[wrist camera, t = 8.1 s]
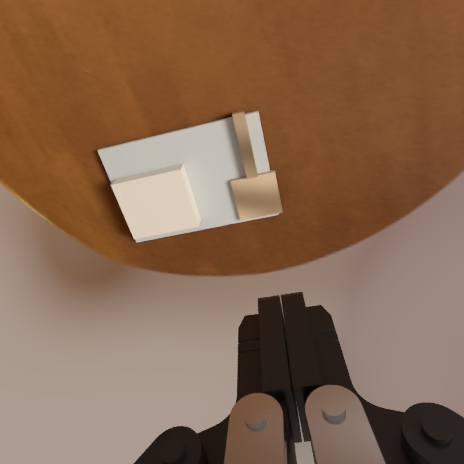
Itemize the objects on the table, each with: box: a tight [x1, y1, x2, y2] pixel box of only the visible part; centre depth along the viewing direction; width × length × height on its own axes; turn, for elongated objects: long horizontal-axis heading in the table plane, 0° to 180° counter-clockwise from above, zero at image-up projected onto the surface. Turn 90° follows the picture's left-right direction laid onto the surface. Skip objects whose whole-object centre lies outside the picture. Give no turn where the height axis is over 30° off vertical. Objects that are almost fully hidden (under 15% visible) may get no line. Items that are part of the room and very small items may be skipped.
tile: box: [111, 163, 201, 239], centre depth 40 cm, size 7×2×8 cm
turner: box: [230, 110, 283, 221], centre depth 38 cm, size 12×5×1 cm, turn 14°
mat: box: [97, 111, 279, 242], centre depth 40 cm, size 12×18×1 cm, turn 104°
